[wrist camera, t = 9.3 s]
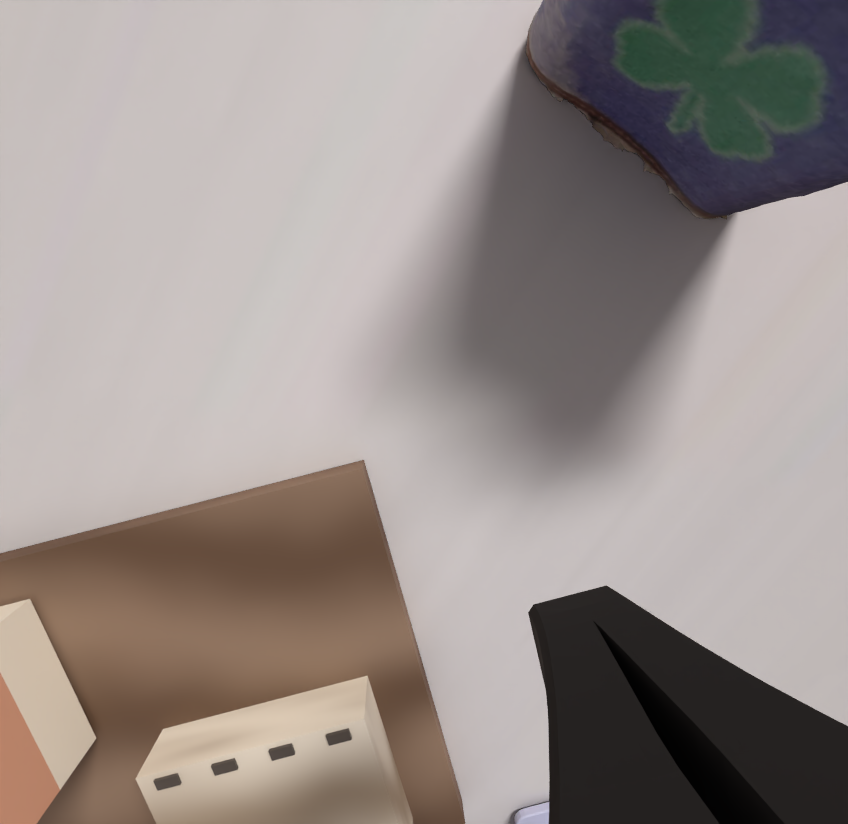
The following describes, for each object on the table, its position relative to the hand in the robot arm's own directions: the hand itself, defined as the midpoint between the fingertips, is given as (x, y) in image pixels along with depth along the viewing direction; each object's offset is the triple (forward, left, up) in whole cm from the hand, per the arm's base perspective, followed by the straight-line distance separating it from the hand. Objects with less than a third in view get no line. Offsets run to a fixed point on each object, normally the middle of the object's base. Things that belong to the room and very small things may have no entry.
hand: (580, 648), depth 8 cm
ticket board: (-7, +14, -10) cm, 19 cm away
